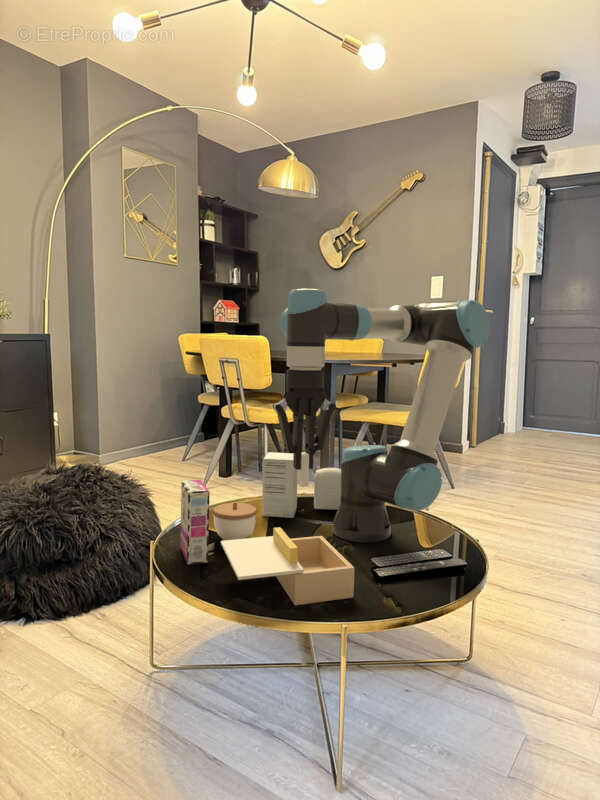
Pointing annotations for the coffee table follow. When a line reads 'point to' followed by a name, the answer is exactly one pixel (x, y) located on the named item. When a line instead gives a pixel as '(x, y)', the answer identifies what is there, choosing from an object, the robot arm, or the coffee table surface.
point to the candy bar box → (194, 521)
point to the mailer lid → (263, 556)
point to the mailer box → (318, 573)
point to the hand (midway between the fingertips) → (302, 484)
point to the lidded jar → (234, 520)
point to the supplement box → (279, 485)
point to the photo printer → (327, 488)
